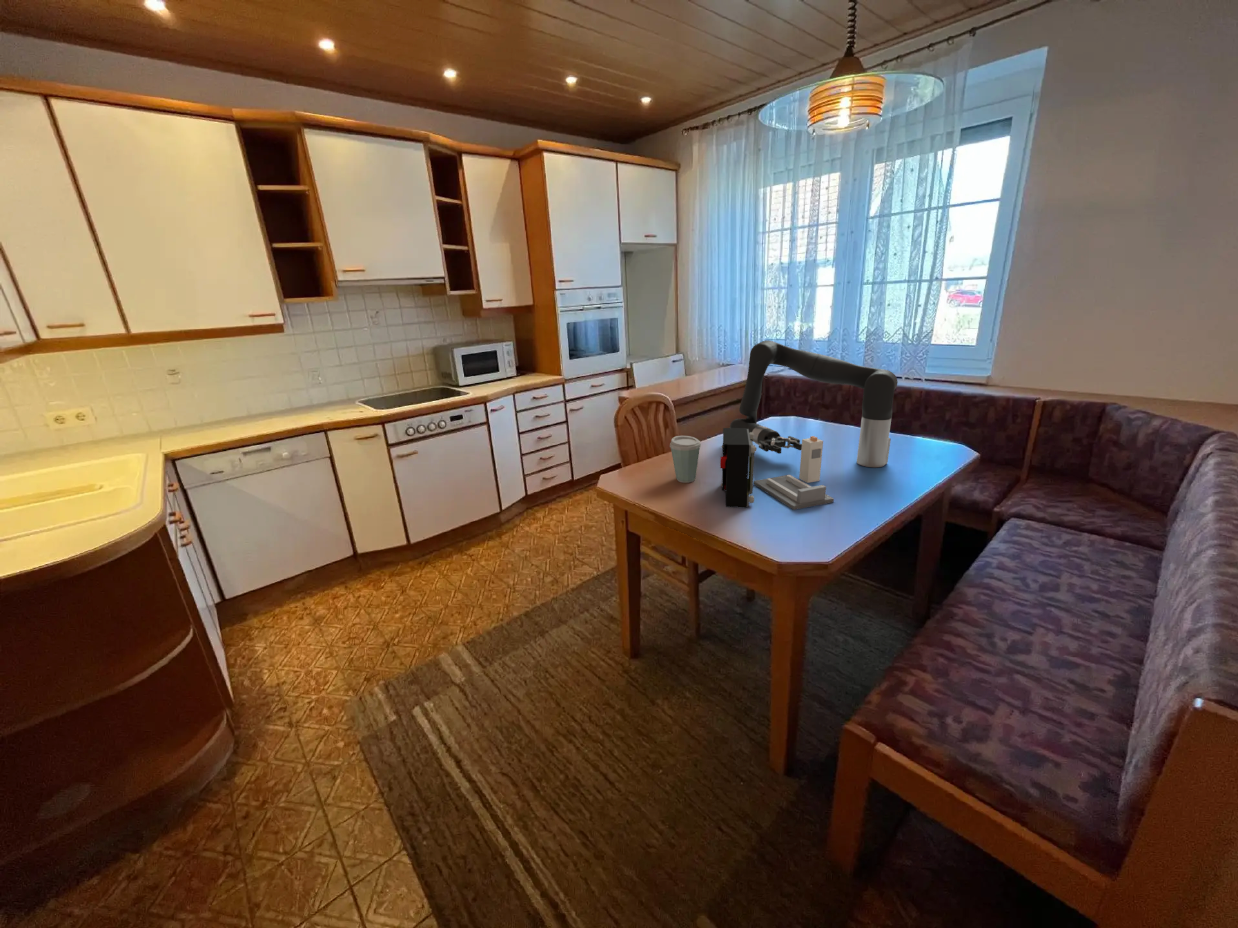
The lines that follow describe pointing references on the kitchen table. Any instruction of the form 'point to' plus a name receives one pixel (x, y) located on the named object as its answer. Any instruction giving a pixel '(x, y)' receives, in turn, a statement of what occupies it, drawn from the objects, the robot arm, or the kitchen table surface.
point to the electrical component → (737, 466)
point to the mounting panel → (794, 492)
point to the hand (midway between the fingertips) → (791, 449)
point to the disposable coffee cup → (685, 457)
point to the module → (811, 459)
